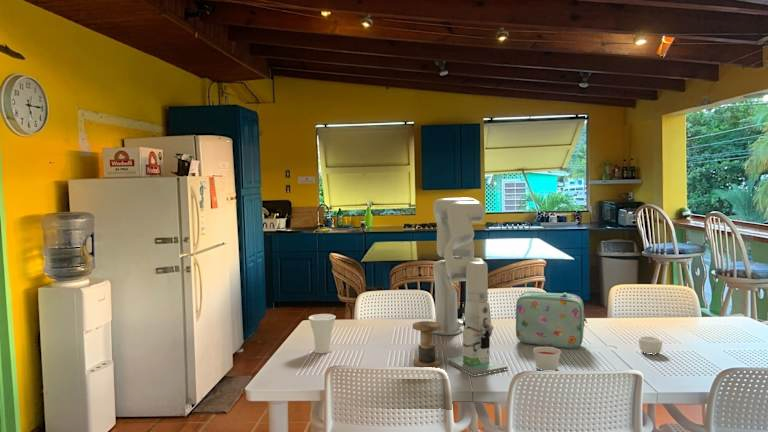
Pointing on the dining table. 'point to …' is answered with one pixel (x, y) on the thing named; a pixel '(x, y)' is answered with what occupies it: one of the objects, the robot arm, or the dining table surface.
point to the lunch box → (550, 319)
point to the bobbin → (426, 344)
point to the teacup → (650, 344)
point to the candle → (547, 357)
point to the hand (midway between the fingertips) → (477, 344)
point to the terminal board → (478, 366)
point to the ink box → (473, 348)
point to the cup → (322, 331)
